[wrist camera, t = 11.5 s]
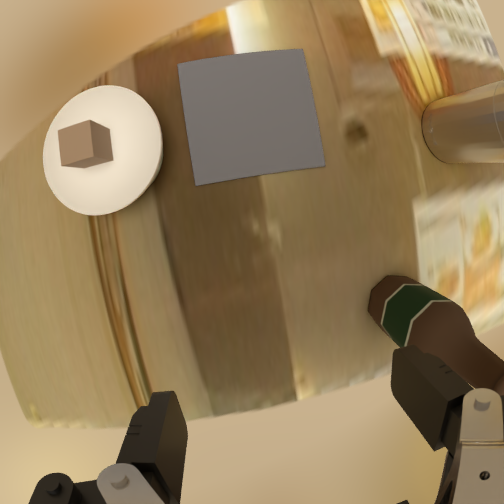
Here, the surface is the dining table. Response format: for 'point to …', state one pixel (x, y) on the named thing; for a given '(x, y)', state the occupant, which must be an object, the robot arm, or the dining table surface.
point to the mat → (249, 115)
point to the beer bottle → (435, 330)
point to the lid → (102, 150)
